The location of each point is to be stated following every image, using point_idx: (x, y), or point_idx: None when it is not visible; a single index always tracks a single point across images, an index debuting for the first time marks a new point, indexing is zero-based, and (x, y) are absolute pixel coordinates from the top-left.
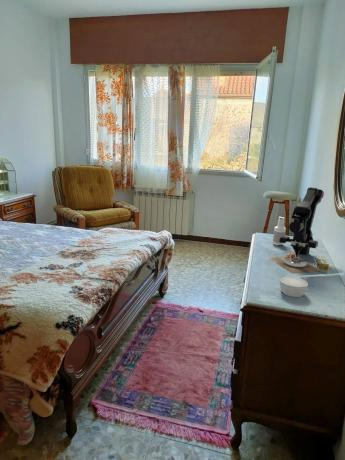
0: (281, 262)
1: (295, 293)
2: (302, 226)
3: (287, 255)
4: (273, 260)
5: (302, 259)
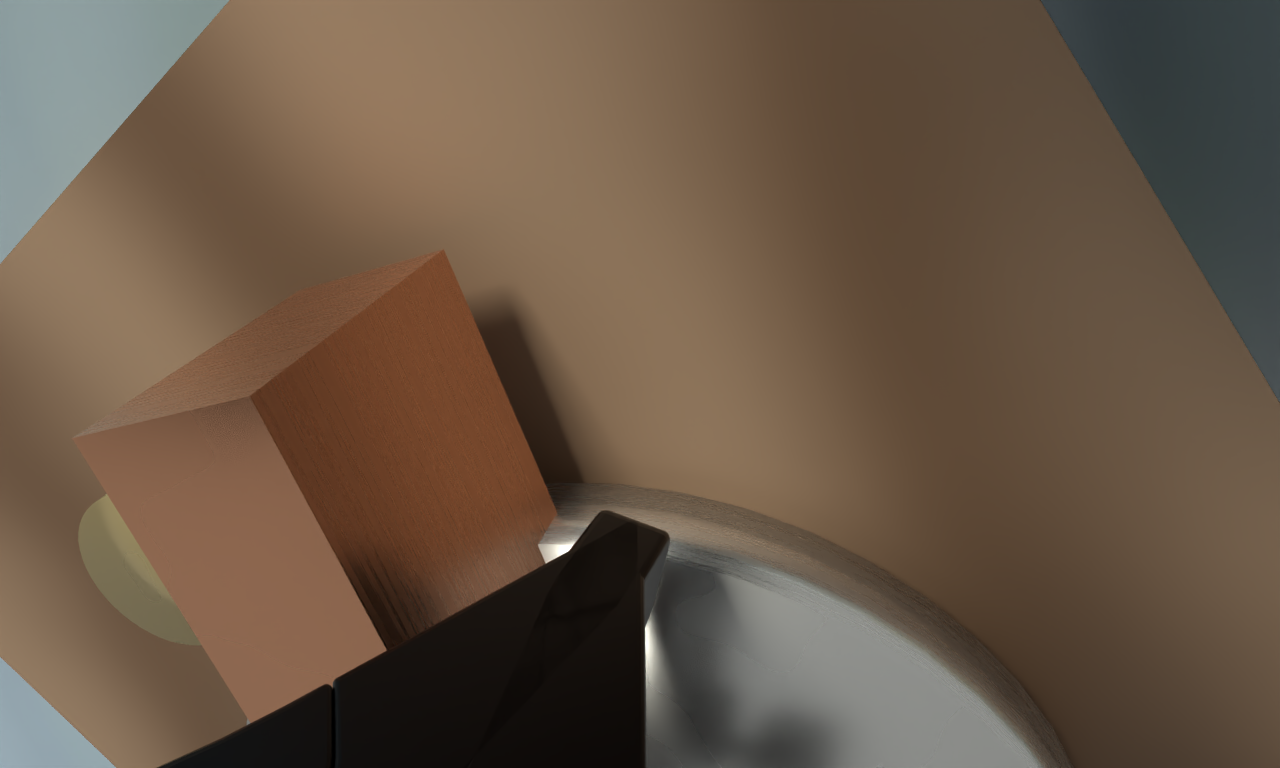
0: None
1: None
2: None
3: None
4: (23, 658)
5: (1049, 19)
